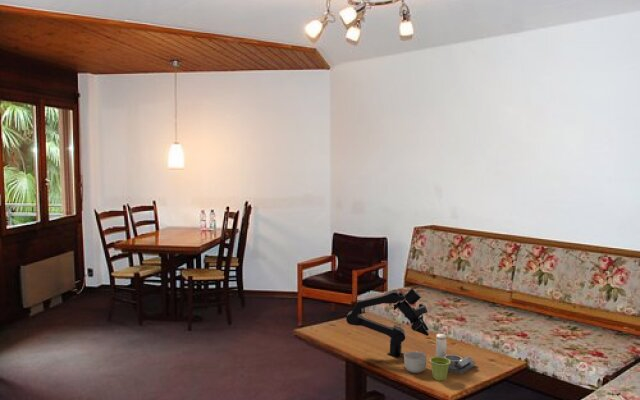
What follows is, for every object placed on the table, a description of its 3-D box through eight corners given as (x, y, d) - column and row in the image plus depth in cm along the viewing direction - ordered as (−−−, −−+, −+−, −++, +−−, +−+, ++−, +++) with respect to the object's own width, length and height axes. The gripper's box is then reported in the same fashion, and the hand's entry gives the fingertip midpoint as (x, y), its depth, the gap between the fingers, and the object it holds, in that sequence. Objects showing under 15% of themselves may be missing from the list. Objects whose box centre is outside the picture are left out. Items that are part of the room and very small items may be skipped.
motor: (460, 374, 260) (460, 364, 259) (436, 367, 268) (436, 357, 268) (475, 365, 272) (475, 355, 271) (451, 359, 280) (451, 349, 280)
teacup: (421, 376, 256) (421, 360, 256) (399, 371, 262) (400, 355, 262) (431, 367, 268) (432, 351, 268) (411, 363, 274) (411, 347, 273)
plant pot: (452, 377, 256) (453, 359, 255) (445, 384, 248) (446, 365, 248) (433, 373, 261) (434, 355, 260) (426, 379, 253) (427, 361, 253)
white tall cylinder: (442, 360, 278) (443, 337, 277) (433, 358, 282) (434, 335, 281) (447, 358, 282) (448, 335, 281) (438, 355, 286) (439, 333, 285)
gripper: (418, 304, 273) (440, 327, 272) (418, 295, 291) (438, 317, 290) (402, 319, 275) (423, 342, 274) (403, 309, 293) (423, 331, 292)
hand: (428, 332), depth 282 cm, fingers open, 9 cm apart
